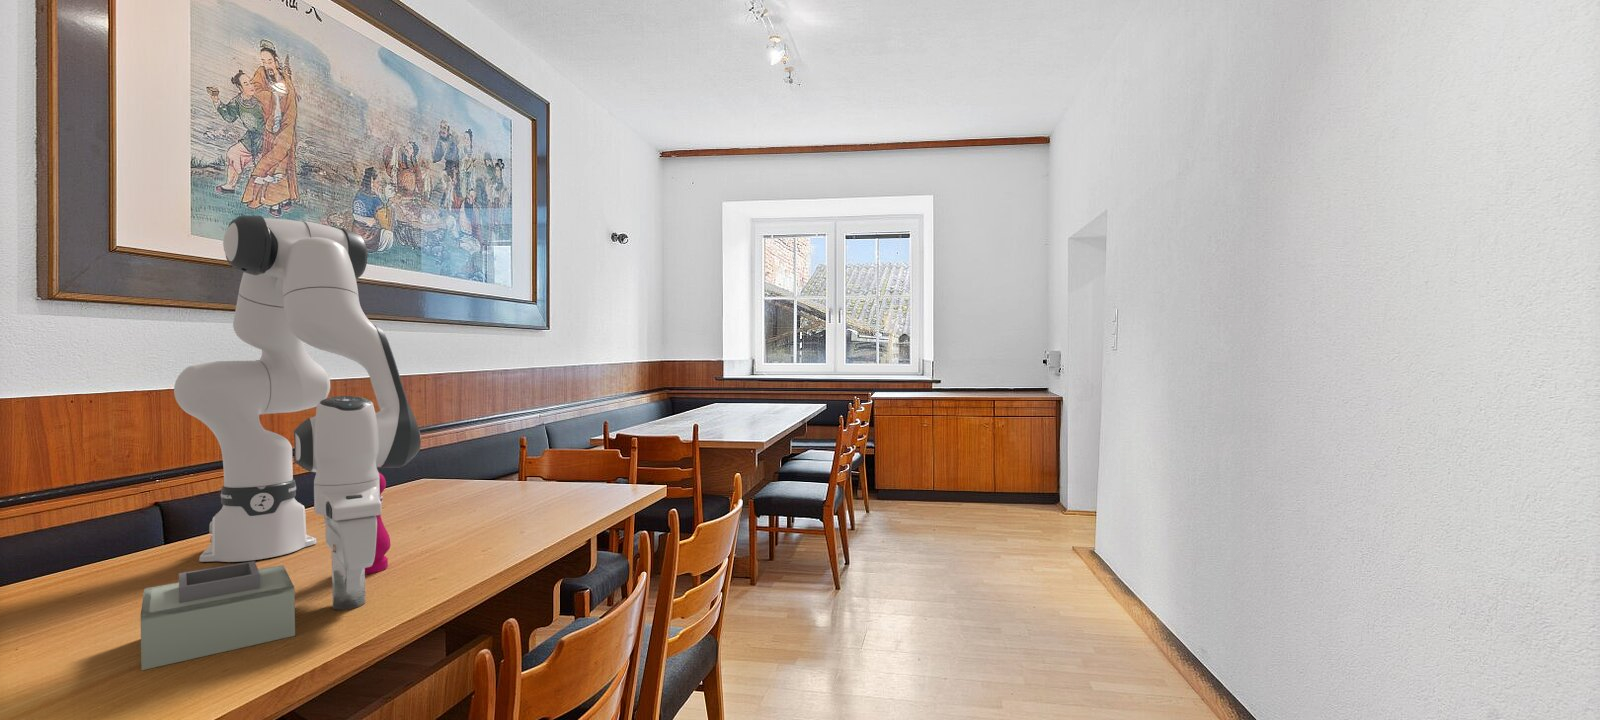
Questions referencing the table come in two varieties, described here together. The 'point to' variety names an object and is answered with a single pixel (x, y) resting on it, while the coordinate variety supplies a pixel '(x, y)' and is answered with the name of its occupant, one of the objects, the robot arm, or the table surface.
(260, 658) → the table surface
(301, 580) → the table surface
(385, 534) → the pepper mill
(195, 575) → the green square holder
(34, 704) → the table surface
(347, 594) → the canister
